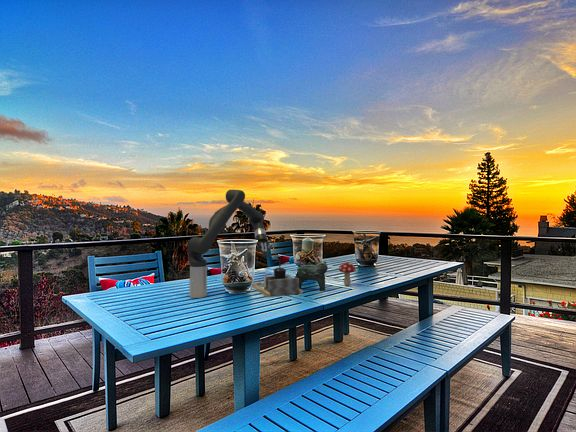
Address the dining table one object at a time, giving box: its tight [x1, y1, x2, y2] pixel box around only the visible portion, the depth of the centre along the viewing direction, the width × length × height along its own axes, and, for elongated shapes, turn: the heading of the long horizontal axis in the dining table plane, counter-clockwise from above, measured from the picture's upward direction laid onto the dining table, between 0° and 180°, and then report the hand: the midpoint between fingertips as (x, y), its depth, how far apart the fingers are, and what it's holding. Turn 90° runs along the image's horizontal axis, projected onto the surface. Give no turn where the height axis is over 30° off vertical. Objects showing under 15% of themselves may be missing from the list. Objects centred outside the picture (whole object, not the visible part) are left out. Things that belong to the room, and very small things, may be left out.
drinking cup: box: [272, 258, 287, 279], centre depth 203 cm, size 8×8×20 cm
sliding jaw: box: [263, 273, 291, 292], centre depth 207 cm, size 16×3×9 cm, turn 113°
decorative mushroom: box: [338, 262, 357, 287], centre depth 221 cm, size 11×11×15 cm
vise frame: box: [251, 277, 303, 298], centre depth 210 cm, size 22×31×9 cm
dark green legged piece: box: [294, 257, 328, 292], centre depth 209 cm, size 20×6×20 cm, turn 84°
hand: (265, 257), depth 223 cm, fingers closed
